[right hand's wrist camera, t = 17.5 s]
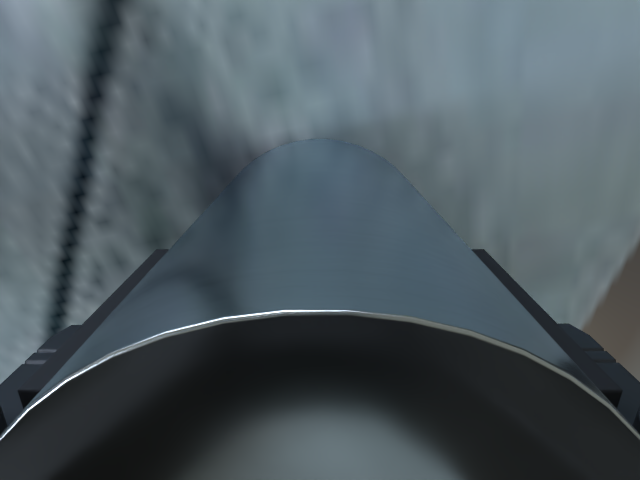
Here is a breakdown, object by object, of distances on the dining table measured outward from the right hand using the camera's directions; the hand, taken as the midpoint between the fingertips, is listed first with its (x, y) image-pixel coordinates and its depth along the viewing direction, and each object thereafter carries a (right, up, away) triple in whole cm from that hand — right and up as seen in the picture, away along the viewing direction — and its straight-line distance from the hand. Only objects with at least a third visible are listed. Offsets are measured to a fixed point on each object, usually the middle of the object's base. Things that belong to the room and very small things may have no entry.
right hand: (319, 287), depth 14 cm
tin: (0, +1, +4) cm, 4 cm away
